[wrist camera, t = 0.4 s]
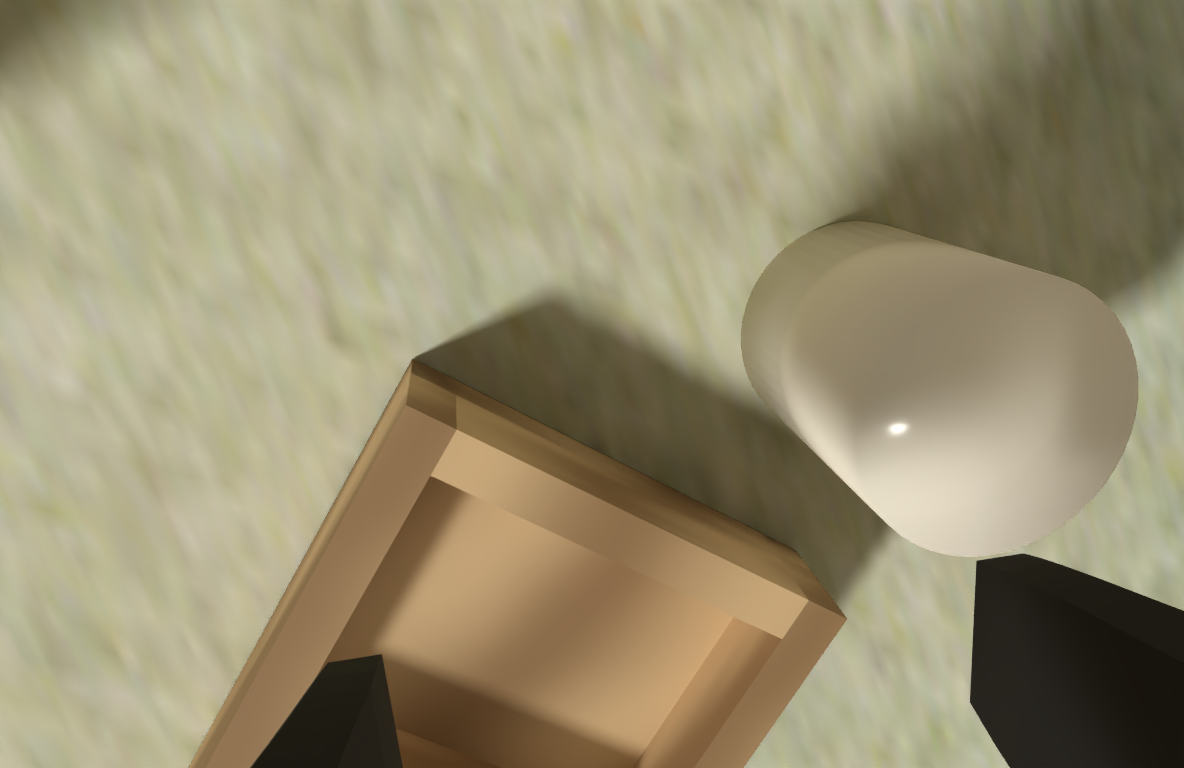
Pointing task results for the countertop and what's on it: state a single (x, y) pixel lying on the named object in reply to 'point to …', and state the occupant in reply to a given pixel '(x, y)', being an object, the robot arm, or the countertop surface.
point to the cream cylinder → (943, 382)
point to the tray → (532, 604)
